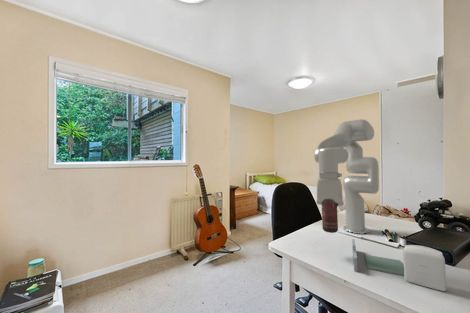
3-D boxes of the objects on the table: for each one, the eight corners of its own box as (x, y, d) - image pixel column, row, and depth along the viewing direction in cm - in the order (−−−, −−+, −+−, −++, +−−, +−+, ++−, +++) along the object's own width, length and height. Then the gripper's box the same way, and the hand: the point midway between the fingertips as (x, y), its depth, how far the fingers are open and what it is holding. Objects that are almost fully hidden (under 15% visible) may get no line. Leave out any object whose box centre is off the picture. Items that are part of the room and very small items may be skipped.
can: (329, 234, 86) (328, 200, 86) (319, 229, 92) (318, 197, 92) (341, 232, 88) (340, 199, 88) (331, 227, 94) (329, 196, 94)
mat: (364, 255, 89) (364, 254, 89) (399, 261, 83) (399, 260, 83) (367, 268, 78) (367, 267, 78) (408, 276, 72) (408, 275, 73)
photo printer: (403, 281, 70) (402, 244, 70) (404, 276, 73) (403, 240, 73) (447, 294, 63) (445, 253, 63) (445, 287, 66) (444, 248, 67)
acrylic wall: (352, 250, 94) (352, 239, 94) (354, 250, 94) (354, 239, 94) (354, 271, 77) (354, 257, 77) (357, 271, 76) (357, 258, 76)
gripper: (347, 175, 90) (349, 217, 90) (311, 175, 97) (313, 214, 97) (348, 177, 83) (350, 222, 83) (309, 176, 90) (311, 218, 90)
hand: (330, 217), depth 90 cm, fingers closed
